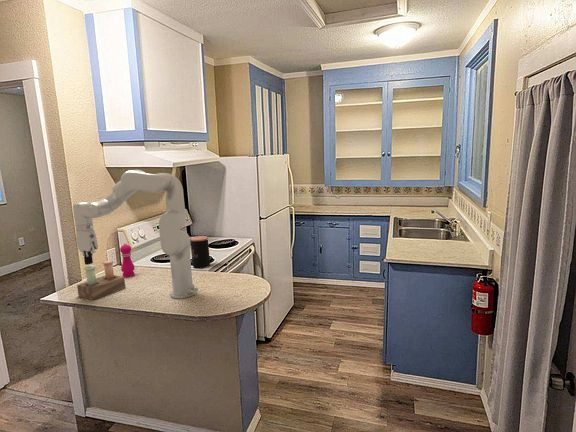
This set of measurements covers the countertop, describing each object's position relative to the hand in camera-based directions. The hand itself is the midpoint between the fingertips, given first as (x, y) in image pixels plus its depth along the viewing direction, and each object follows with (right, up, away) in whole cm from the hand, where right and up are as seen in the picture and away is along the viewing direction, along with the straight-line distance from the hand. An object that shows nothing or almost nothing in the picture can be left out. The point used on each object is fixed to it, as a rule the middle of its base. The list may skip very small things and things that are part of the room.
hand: (88, 263), depth 182 cm
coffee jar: (+45, -8, +46) cm, 64 cm away
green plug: (+1, -12, +2) cm, 12 cm away
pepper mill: (+6, -11, +33) cm, 35 cm away
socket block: (+3, -15, +7) cm, 17 cm away
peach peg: (+5, -10, +11) cm, 16 cm away
